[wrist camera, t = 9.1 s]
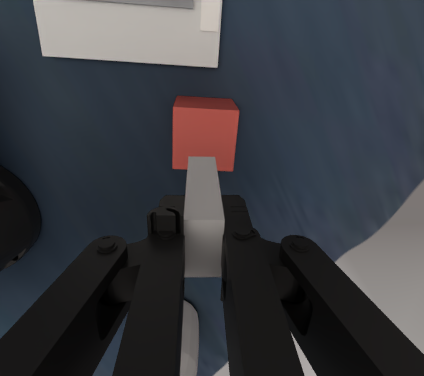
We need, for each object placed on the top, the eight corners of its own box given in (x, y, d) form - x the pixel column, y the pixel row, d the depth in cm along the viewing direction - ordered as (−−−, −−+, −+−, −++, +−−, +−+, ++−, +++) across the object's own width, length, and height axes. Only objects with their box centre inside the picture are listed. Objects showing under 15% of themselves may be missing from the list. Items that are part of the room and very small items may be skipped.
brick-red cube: (176, 148, 33) (172, 168, 28) (177, 95, 31) (173, 106, 25) (227, 150, 34) (232, 171, 28) (231, 98, 31) (239, 110, 26)
